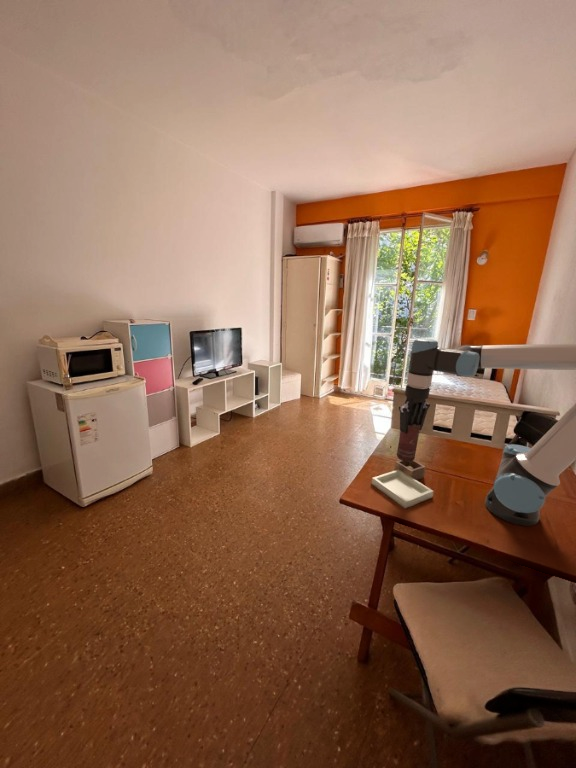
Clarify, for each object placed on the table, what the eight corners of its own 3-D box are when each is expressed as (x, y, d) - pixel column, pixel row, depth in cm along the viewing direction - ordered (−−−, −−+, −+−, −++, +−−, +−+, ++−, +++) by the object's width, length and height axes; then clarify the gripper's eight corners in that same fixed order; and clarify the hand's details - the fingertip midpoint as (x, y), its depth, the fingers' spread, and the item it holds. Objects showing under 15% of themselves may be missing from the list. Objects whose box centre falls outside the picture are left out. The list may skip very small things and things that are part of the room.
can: (411, 454, 117) (417, 419, 113) (416, 463, 111) (422, 426, 107) (394, 452, 118) (400, 417, 113) (398, 461, 111) (404, 425, 107)
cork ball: (414, 474, 126) (416, 467, 125) (409, 476, 125) (410, 469, 124) (408, 471, 129) (409, 464, 128) (402, 472, 127) (404, 465, 126)
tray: (432, 497, 113) (433, 491, 113) (405, 508, 107) (406, 501, 106) (397, 475, 127) (398, 469, 126) (371, 483, 120) (372, 477, 119)
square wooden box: (423, 477, 125) (425, 466, 124) (409, 482, 122) (411, 471, 120) (407, 468, 132) (409, 457, 131) (393, 472, 128) (395, 461, 127)
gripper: (422, 380, 112) (412, 441, 119) (394, 384, 106) (385, 448, 112) (441, 386, 106) (429, 450, 113) (412, 391, 99) (402, 458, 106)
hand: (407, 449), depth 112 cm, fingers closed
